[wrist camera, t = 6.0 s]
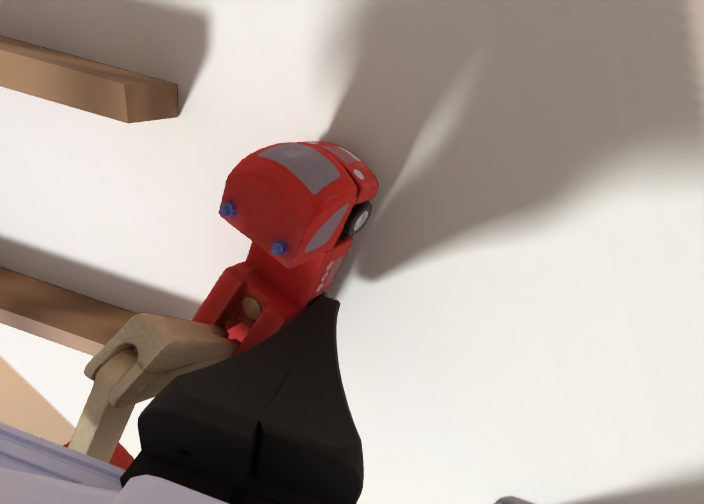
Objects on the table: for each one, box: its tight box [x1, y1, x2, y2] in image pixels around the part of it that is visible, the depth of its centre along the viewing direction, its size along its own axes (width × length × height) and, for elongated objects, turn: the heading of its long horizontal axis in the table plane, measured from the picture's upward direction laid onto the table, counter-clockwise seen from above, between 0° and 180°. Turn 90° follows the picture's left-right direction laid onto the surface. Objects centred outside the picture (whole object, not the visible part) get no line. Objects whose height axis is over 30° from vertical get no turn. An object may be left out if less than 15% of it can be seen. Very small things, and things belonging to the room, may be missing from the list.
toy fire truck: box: [64, 142, 379, 470], centre depth 11 cm, size 3×14×10 cm, turn 157°
